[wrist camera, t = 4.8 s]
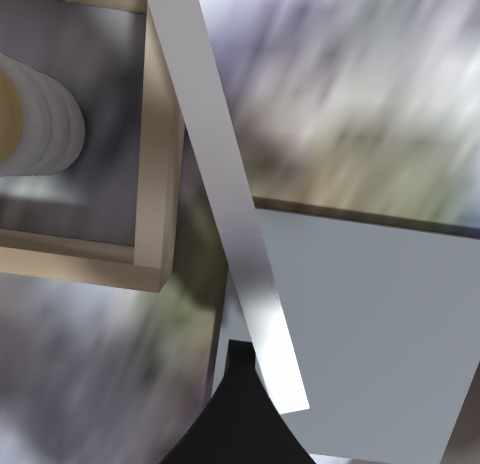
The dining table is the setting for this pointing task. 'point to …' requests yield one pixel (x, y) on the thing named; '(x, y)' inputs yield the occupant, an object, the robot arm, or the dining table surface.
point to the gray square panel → (370, 332)
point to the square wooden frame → (148, 195)
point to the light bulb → (36, 122)
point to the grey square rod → (228, 193)
